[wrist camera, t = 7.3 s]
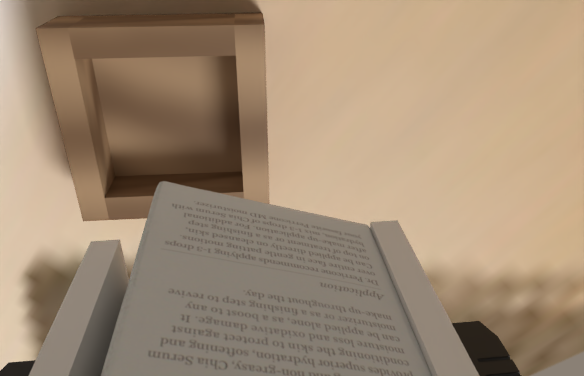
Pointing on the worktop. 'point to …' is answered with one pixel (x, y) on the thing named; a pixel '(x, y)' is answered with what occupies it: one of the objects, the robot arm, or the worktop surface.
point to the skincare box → (258, 295)
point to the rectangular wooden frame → (159, 106)
